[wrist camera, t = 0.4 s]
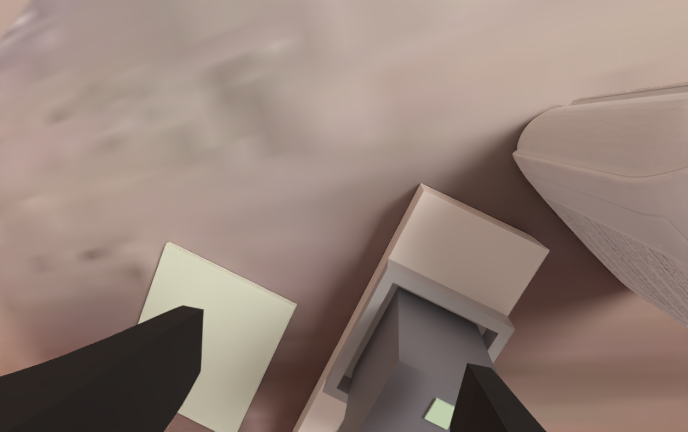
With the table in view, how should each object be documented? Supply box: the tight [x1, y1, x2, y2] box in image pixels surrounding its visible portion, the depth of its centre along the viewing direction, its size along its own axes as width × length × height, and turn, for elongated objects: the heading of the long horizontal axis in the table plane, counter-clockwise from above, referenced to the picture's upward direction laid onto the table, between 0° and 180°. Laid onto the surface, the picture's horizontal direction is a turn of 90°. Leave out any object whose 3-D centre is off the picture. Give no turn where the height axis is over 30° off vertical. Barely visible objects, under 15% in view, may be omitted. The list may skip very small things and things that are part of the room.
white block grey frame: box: [292, 183, 550, 432], centre depth 20 cm, size 22×6×4 cm, turn 155°
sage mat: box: [138, 242, 297, 432], centre depth 23 cm, size 10×8×1 cm
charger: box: [342, 286, 497, 432], centre depth 16 cm, size 5×4×6 cm
